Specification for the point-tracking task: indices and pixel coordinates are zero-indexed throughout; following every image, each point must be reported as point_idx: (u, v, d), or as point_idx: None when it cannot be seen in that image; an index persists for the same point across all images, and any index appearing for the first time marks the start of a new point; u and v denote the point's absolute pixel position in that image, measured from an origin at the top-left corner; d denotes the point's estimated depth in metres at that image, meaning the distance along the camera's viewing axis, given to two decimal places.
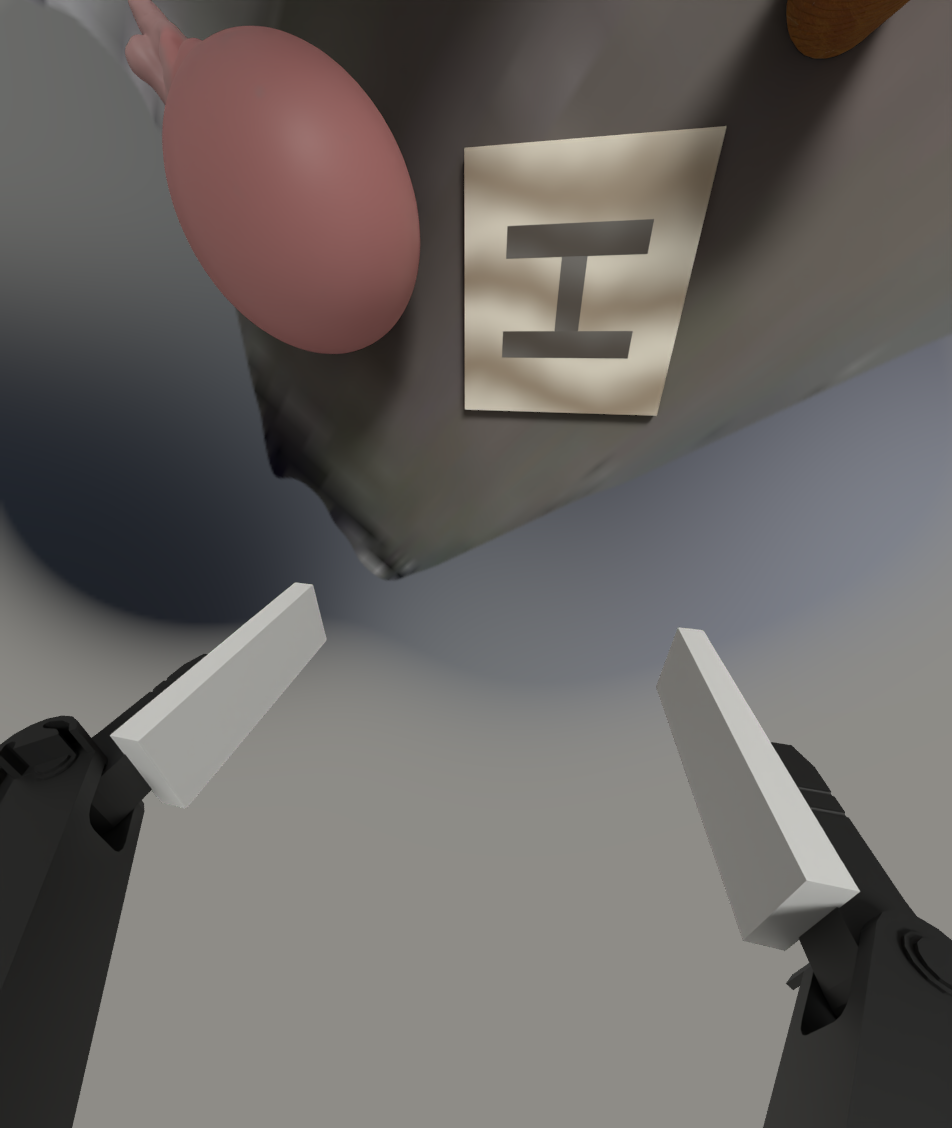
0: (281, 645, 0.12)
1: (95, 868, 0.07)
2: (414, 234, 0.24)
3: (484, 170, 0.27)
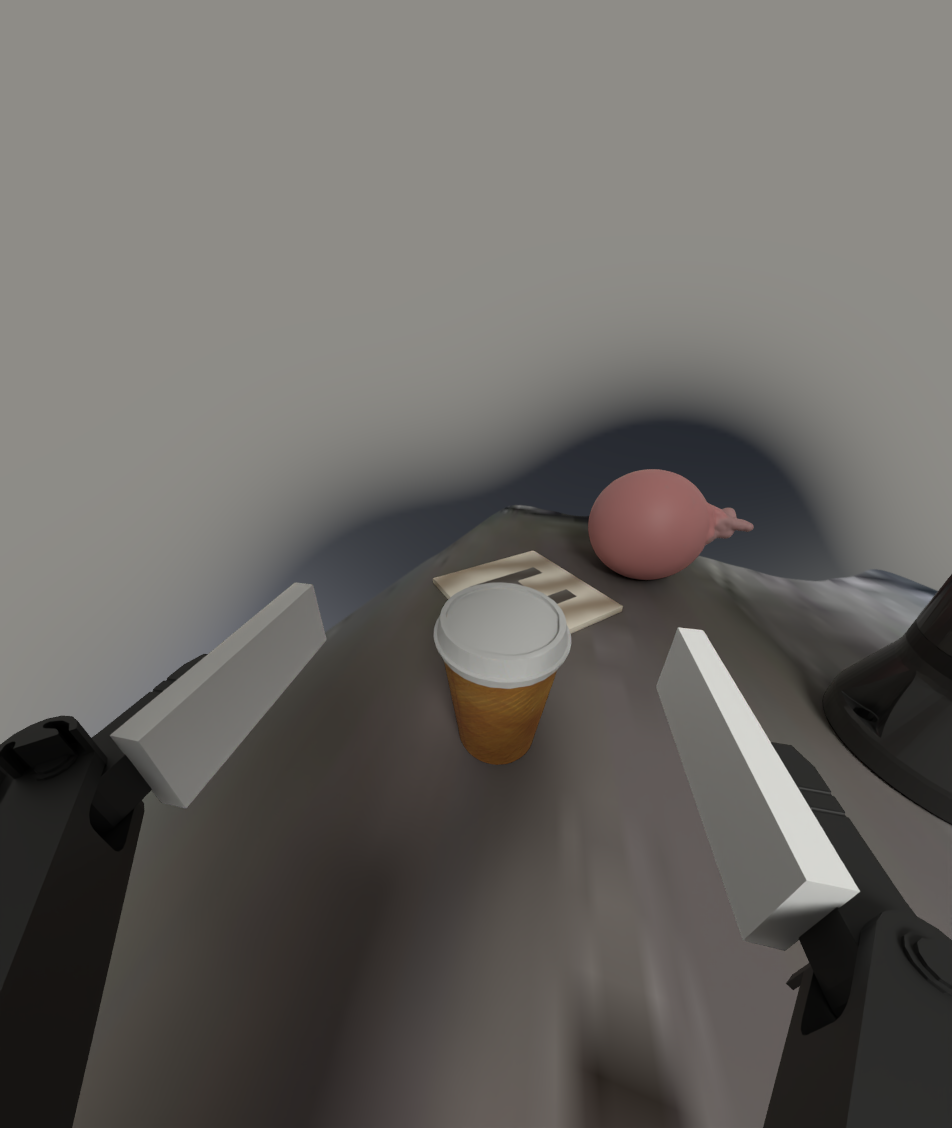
0: (281, 645, 0.12)
1: (95, 868, 0.07)
2: (603, 535, 0.47)
3: (606, 604, 0.44)
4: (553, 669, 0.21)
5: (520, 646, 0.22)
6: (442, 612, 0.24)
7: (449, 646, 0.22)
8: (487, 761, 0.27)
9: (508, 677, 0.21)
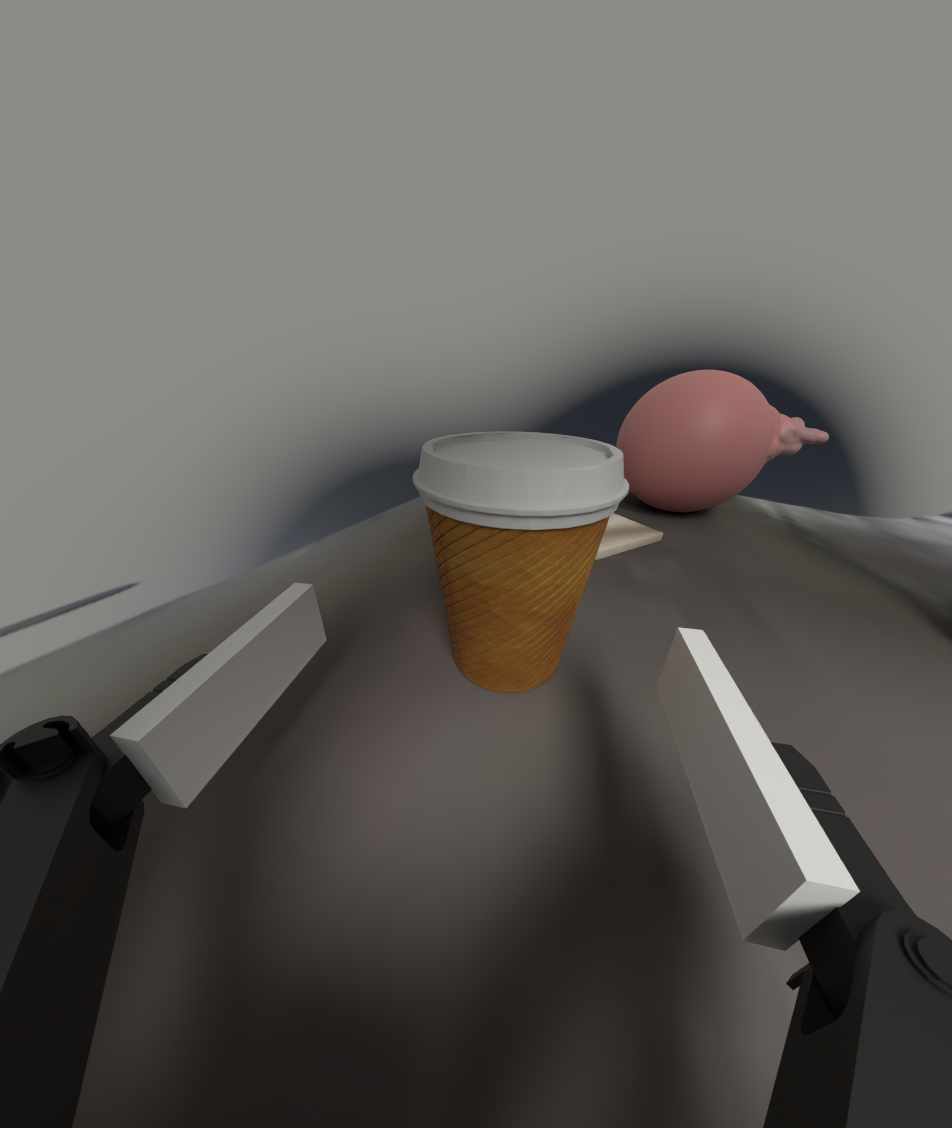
0: (281, 645, 0.12)
1: (95, 868, 0.07)
2: (637, 450, 0.38)
3: (642, 531, 0.36)
4: (607, 502, 0.13)
5: None
6: (427, 443, 0.16)
7: (435, 468, 0.13)
8: (493, 687, 0.18)
9: (533, 504, 0.12)
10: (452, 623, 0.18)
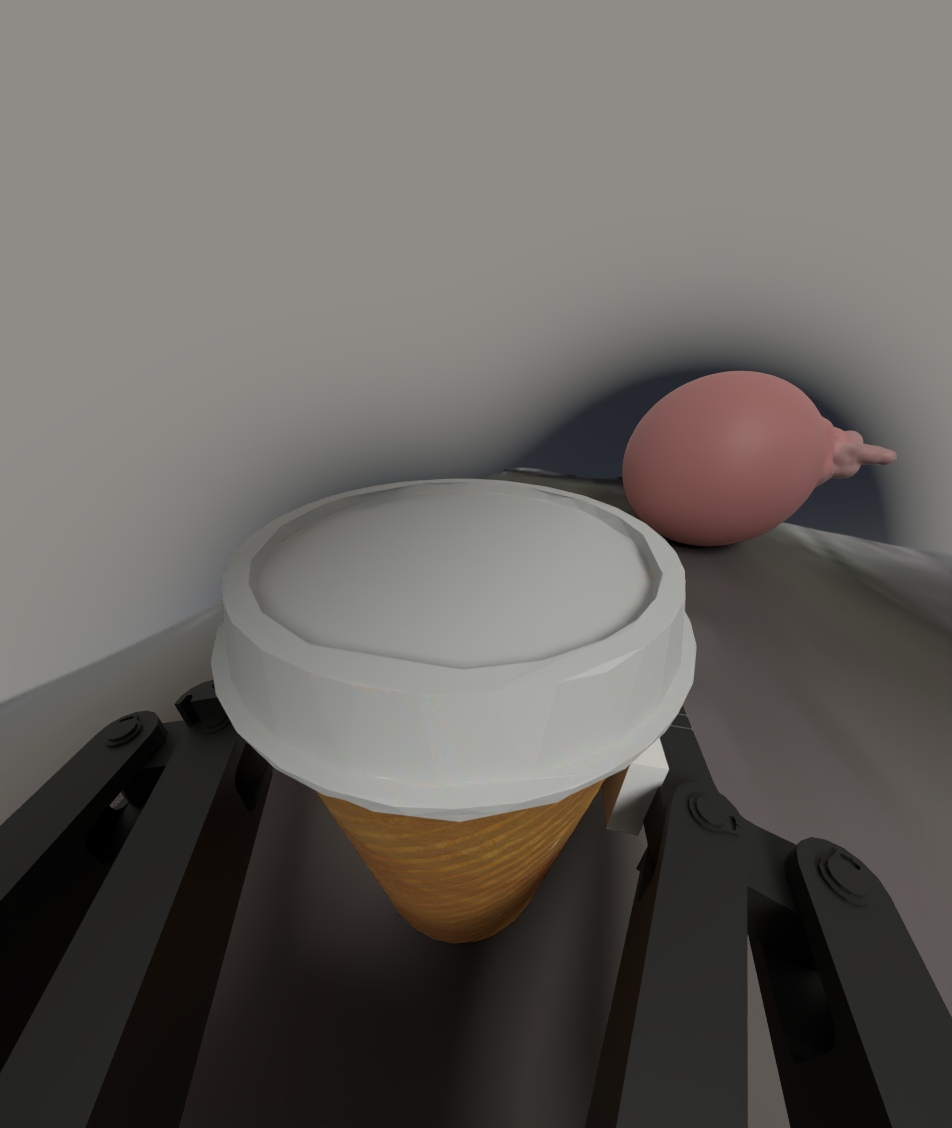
0: None
1: (233, 827, 0.07)
2: (651, 473, 0.30)
3: None
4: (660, 729, 0.05)
5: (514, 627, 0.05)
6: (272, 524, 0.08)
7: (225, 623, 0.05)
8: (430, 935, 0.10)
9: (449, 779, 0.04)
10: None
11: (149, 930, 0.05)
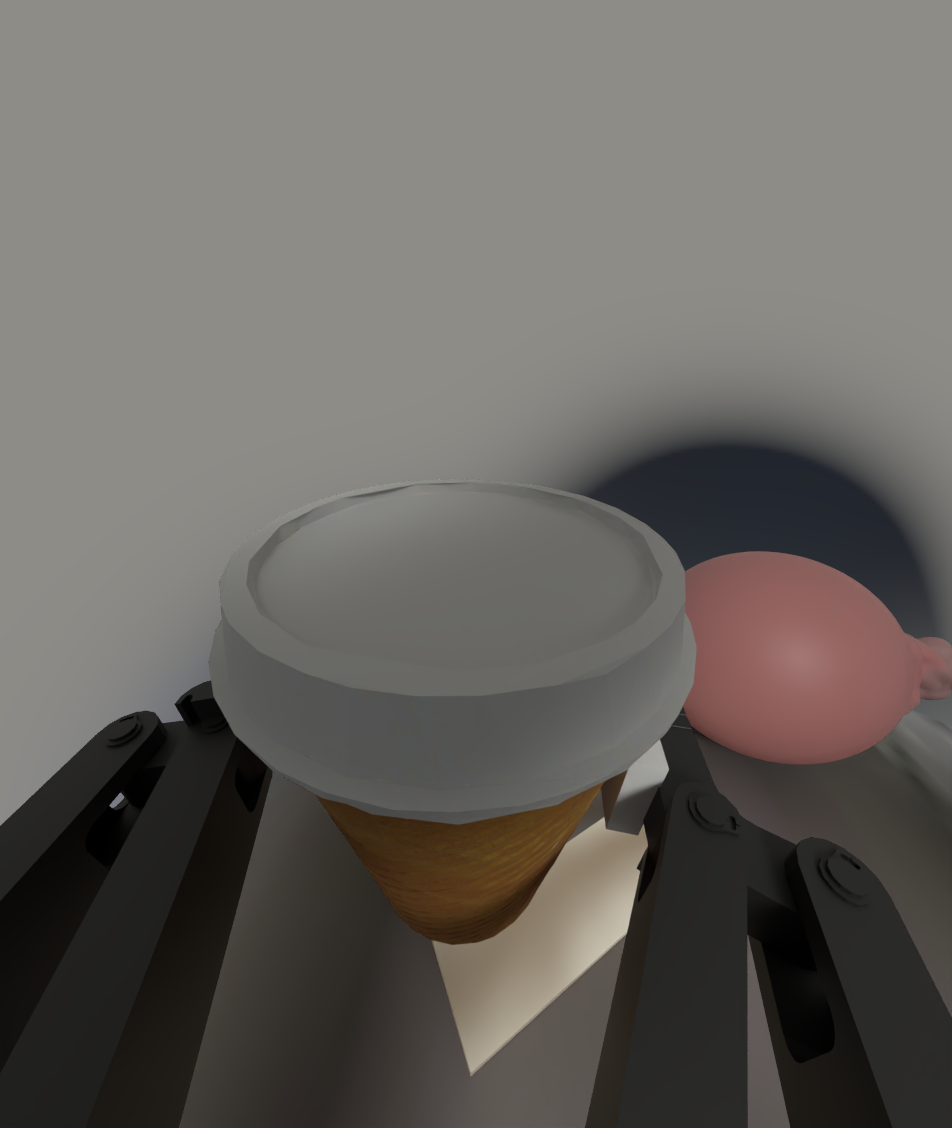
0: None
1: (234, 827, 0.07)
2: None
3: None
4: (660, 731, 0.05)
5: (513, 628, 0.05)
6: (271, 524, 0.08)
7: (223, 624, 0.05)
8: (429, 936, 0.10)
9: (447, 782, 0.04)
10: None
11: (149, 930, 0.05)
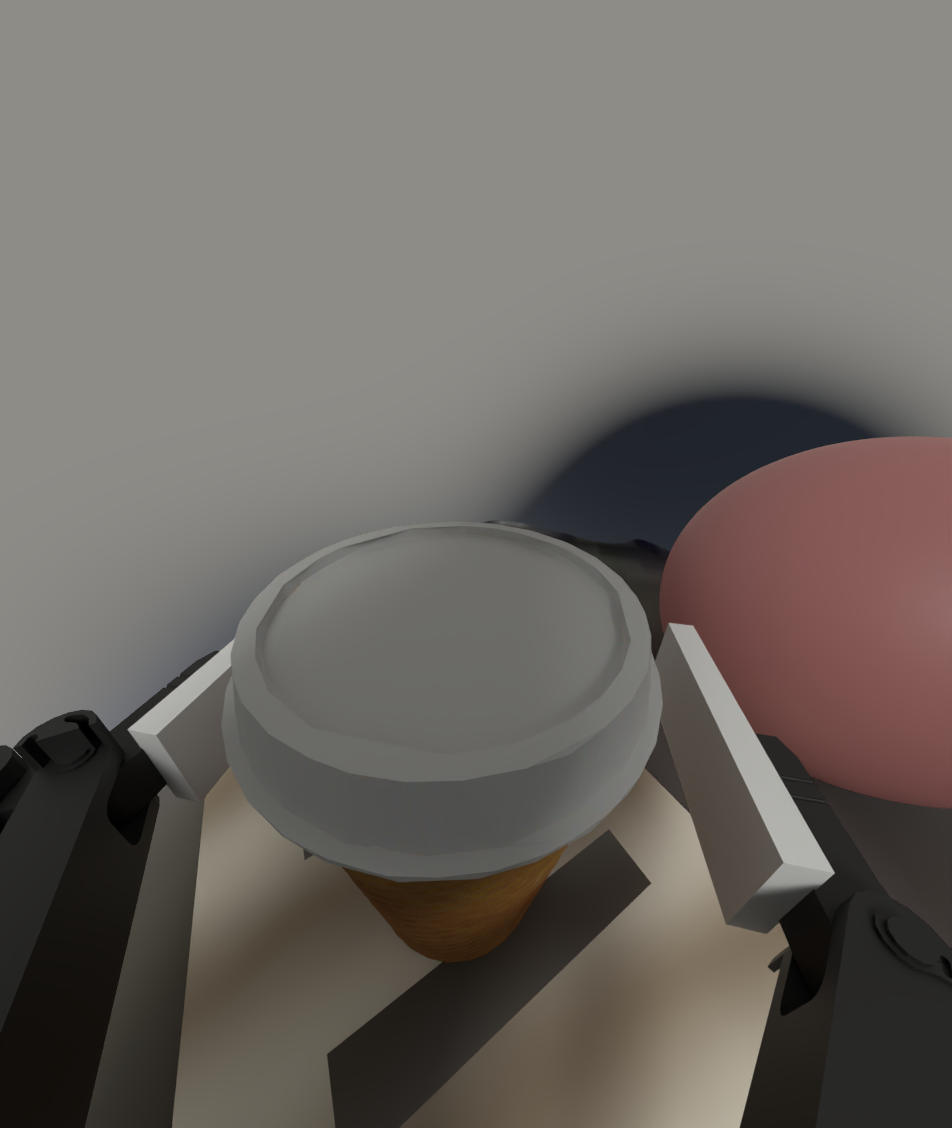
0: None
1: (112, 861, 0.07)
2: (739, 659, 0.14)
3: None
4: (622, 793, 0.05)
5: (494, 698, 0.06)
6: (274, 582, 0.08)
7: (234, 695, 0.06)
8: (425, 955, 0.11)
9: (434, 849, 0.05)
10: None
11: (5, 979, 0.05)
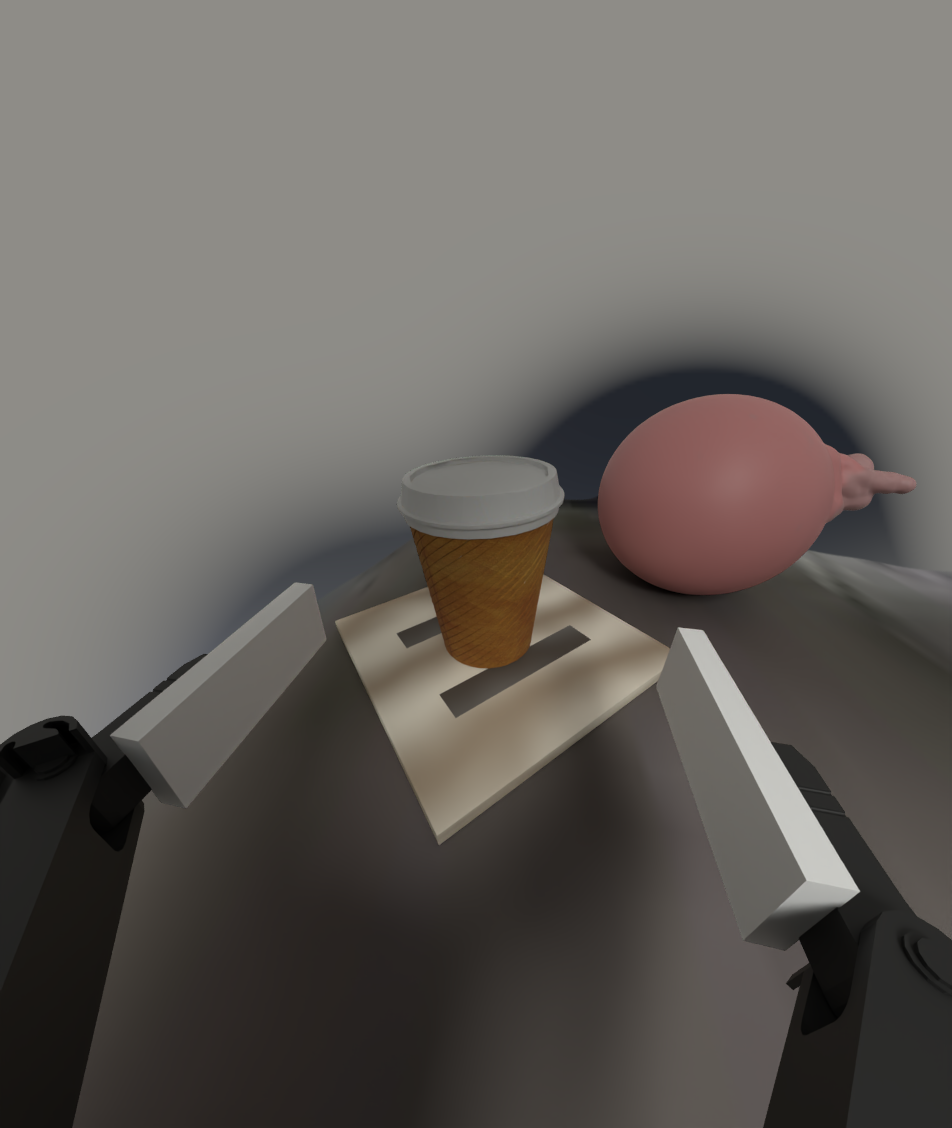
0: (281, 645, 0.12)
1: (95, 868, 0.07)
2: (630, 522, 0.25)
3: (649, 654, 0.23)
4: (544, 512, 0.17)
5: (501, 491, 0.17)
6: (405, 476, 0.20)
7: (413, 498, 0.17)
8: (478, 665, 0.23)
9: (487, 519, 0.16)
10: (440, 616, 0.22)
11: None
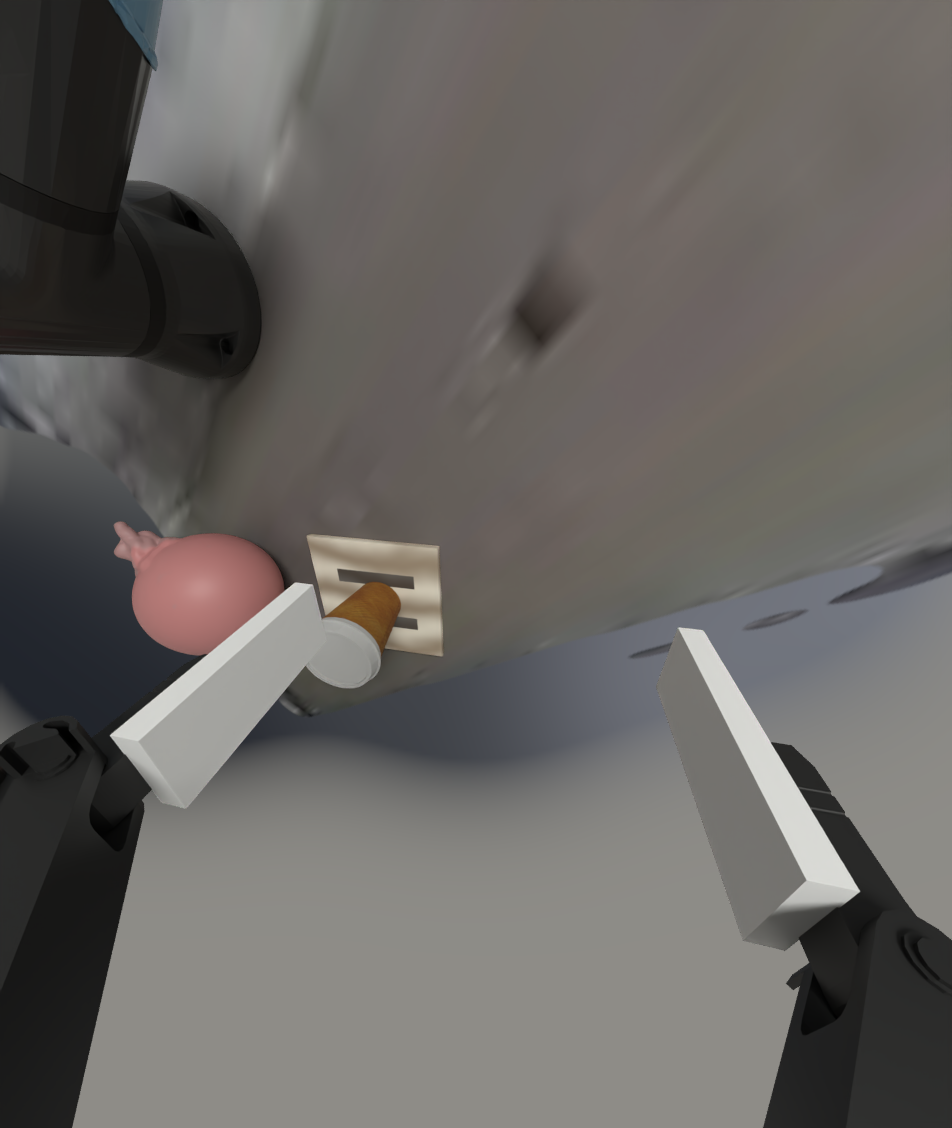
0: (281, 645, 0.12)
1: (95, 868, 0.07)
2: None
3: (319, 546, 0.47)
4: (327, 619, 0.38)
5: (336, 639, 0.38)
6: (367, 680, 0.40)
7: (372, 659, 0.39)
8: (392, 590, 0.48)
9: (352, 629, 0.38)
10: (393, 618, 0.46)
11: None
